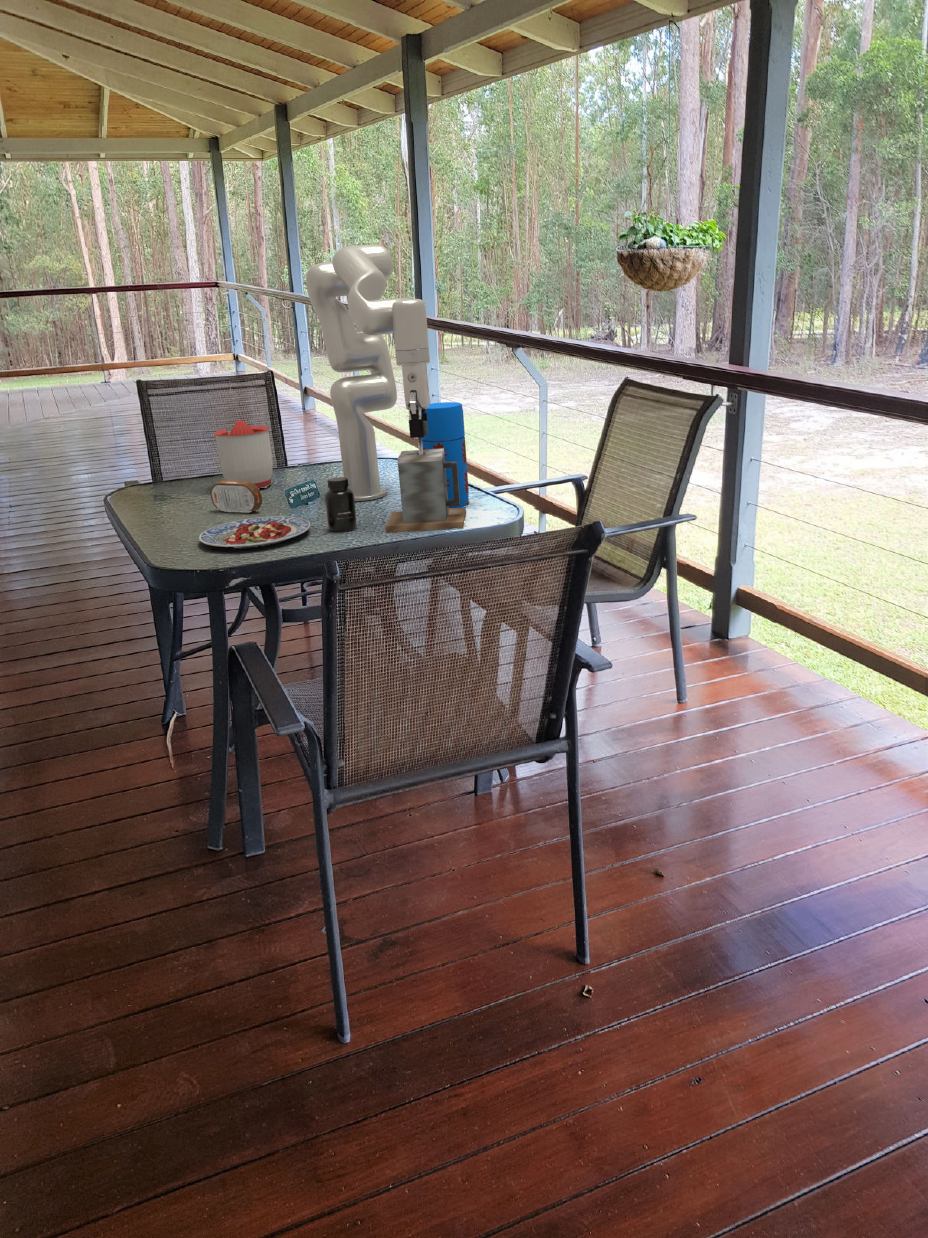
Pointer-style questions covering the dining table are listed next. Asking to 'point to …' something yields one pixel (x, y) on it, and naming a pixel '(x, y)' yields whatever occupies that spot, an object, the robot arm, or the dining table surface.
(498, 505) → the dining table surface
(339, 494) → the supplement bottle
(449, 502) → the stand
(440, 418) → the thermos
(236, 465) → the citrus juicer
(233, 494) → the tin
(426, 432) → the grey rod with knob
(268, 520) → the ceramic plate
